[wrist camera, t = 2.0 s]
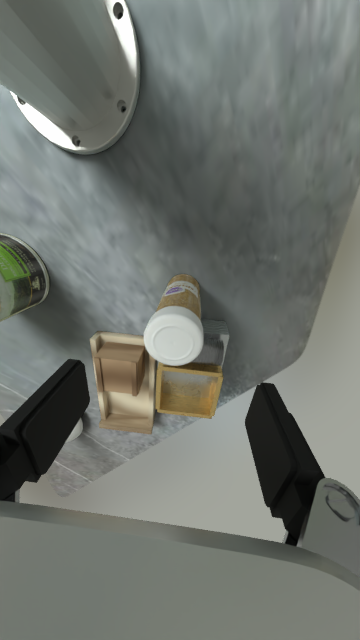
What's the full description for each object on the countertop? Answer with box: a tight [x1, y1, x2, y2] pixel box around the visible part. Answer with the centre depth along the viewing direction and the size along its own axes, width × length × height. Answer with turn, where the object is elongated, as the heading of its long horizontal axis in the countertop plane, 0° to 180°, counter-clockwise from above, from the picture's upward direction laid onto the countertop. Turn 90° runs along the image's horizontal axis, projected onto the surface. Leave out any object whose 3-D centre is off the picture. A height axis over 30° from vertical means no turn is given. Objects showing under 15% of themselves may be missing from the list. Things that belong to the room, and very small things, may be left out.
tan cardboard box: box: [94, 342, 145, 397], centre depth 28 cm, size 6×6×4 cm
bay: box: [90, 331, 157, 434], centre depth 32 cm, size 18×10×4 cm, turn 175°
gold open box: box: [155, 319, 230, 419], centre depth 27 cm, size 12×9×7 cm
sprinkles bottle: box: [144, 274, 204, 366], centre depth 20 cm, size 5×5×13 cm
